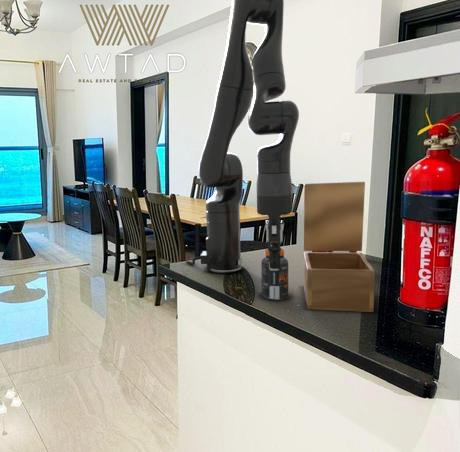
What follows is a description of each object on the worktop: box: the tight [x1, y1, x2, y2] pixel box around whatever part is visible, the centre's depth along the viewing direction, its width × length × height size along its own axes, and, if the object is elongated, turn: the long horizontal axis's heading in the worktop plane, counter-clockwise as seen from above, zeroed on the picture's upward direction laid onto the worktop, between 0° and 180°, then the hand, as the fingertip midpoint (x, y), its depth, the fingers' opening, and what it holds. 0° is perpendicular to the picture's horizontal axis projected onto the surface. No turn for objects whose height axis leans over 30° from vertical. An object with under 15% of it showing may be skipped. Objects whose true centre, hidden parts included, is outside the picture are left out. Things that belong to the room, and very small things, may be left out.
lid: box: [303, 181, 366, 252], centre depth 109 cm, size 16×13×6 cm
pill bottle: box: [260, 248, 289, 301], centre depth 106 cm, size 6×6×11 cm
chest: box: [303, 251, 376, 313], centre depth 102 cm, size 16×13×9 cm
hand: (274, 264), depth 106 cm, fingers open, 6 cm apart
